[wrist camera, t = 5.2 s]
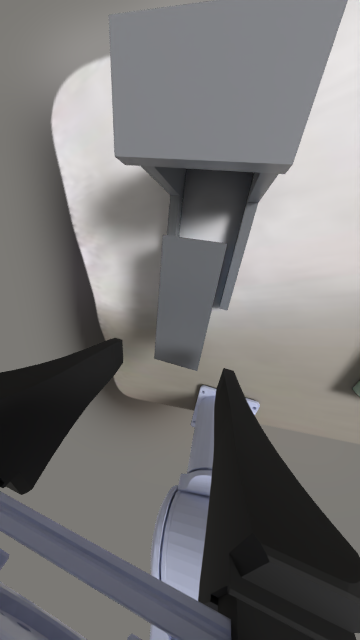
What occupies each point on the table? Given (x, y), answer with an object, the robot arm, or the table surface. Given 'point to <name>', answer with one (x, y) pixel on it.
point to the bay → (218, 92)
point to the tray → (357, 388)
